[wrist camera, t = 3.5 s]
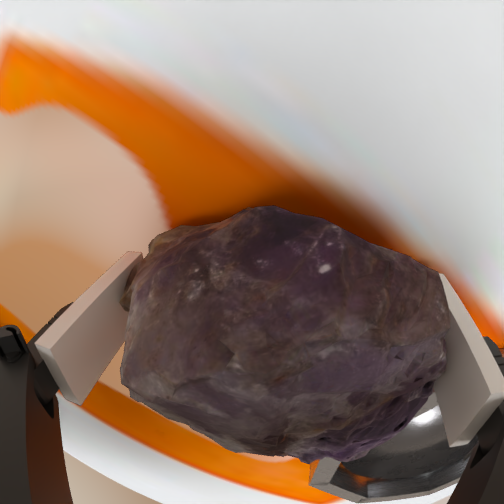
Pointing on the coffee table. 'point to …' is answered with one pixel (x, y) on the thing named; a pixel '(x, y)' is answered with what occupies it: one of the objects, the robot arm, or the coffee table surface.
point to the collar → (398, 463)
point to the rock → (283, 335)
